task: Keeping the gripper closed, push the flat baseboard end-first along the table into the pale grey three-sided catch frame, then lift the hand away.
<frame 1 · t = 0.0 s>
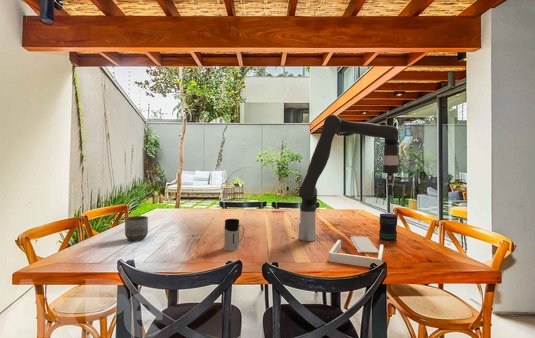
hand: (390, 194, 158), 29 cm above the table, tool pointing down, fingers open, 8 cm apart
planter: (136, 240, 172), on the table
catch frame: (358, 254, 148), on the table
storage jar: (387, 239, 178), on the table
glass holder: (235, 249, 155), on the table
baseboard: (361, 246, 166), on the table
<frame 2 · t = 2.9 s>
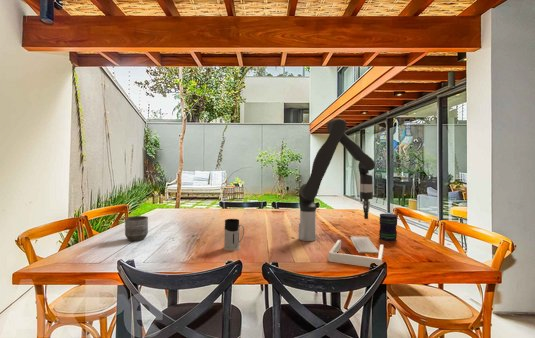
hand: (366, 218, 185), 11 cm above the table, tool pointing down, fingers closed
nothing on the table moved.
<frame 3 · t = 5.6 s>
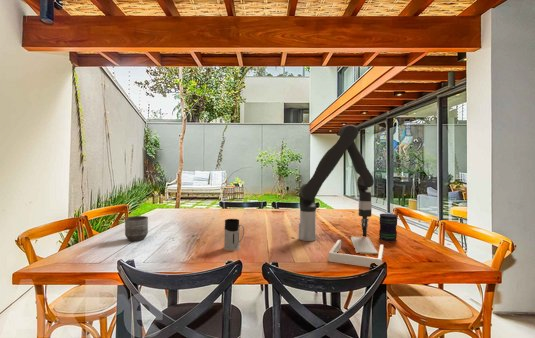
hand: (364, 236, 181), 1 cm above the table, tool pointing down, fingers closed
baseboard: (361, 246, 165), on the table
everything else where it was.
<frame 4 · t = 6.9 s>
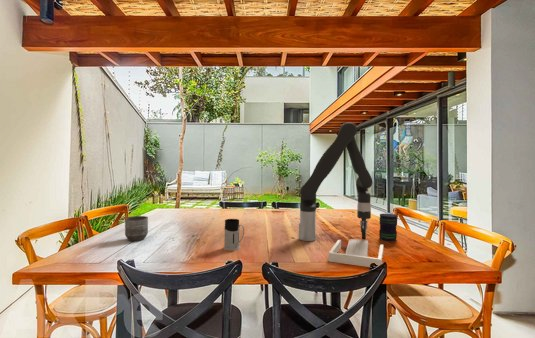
hand: (363, 239, 174), 1 cm above the table, tool pointing down, fingers closed
baseboard: (355, 249, 159), on the table, touching gripper
everything else where it was.
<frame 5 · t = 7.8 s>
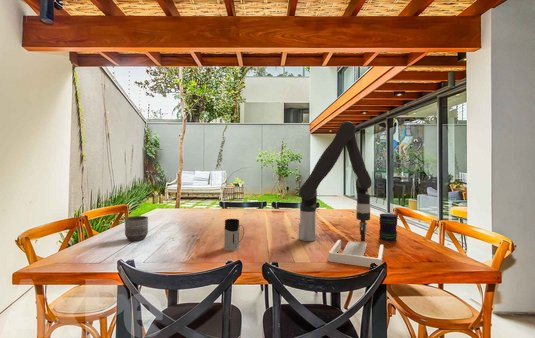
hand: (362, 241, 169), 1 cm above the table, tool pointing down, fingers closed
baseboard: (352, 252, 155), on the table, touching gripper
everything else where it was.
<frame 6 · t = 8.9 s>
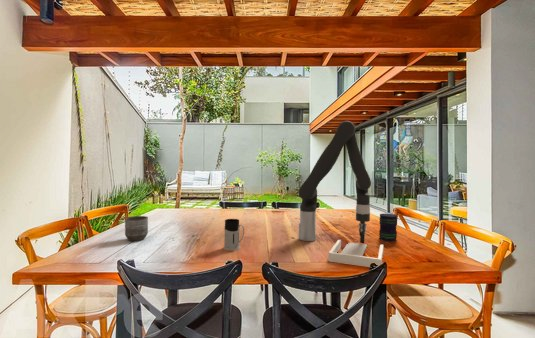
hand: (362, 242, 166), 1 cm above the table, tool pointing down, fingers closed
baseboard: (351, 253, 152), on the table, touching gripper
everything else where it was.
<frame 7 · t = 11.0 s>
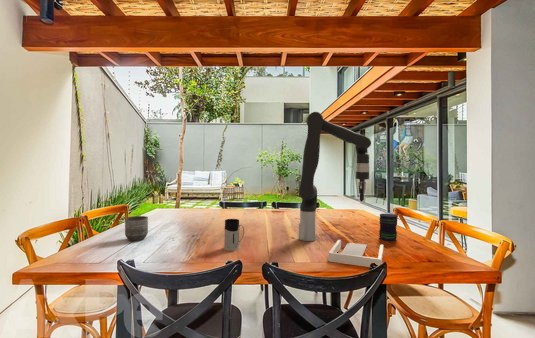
hand: (361, 200, 174), 24 cm above the table, tool pointing down, fingers closed
baseboard: (351, 253, 152), on the table
everything else where it was.
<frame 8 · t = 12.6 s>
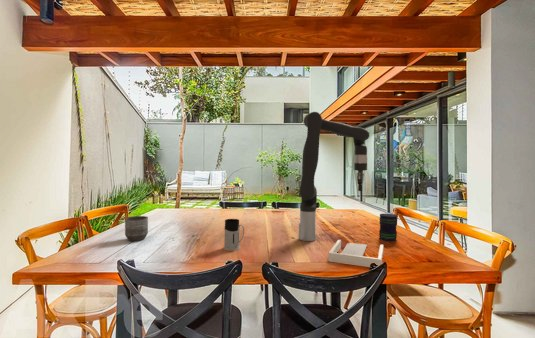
hand: (360, 191, 179), 29 cm above the table, tool pointing down, fingers closed
nothing on the table moved.
at the end: baseboard inside the target area (3.4 cm from its centre), on the table; baseboard moved 16.9 cm from its start; the gripper is holding nothing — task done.
